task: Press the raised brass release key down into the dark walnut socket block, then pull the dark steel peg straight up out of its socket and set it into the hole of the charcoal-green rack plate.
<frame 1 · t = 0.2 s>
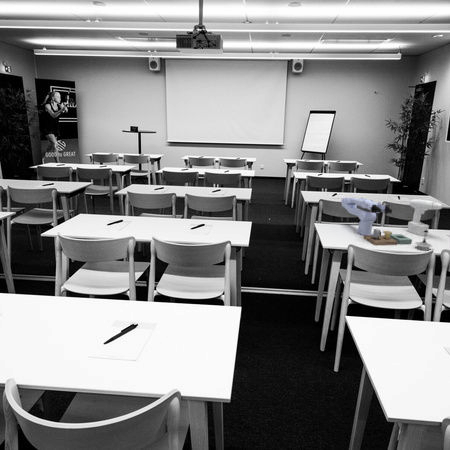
hand: (386, 211, 258), 21 cm above the table, tool horizontal, fingers open, 7 cm apart
release key: (387, 234, 265), point 4 cm above the table, slide at 2.0 cm
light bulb: (422, 248, 256), on the table
steel peg: (375, 241, 265), resting in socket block
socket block: (380, 241, 266), on the table
rack: (399, 241, 269), on the table
power drill: (420, 234, 288), on the table
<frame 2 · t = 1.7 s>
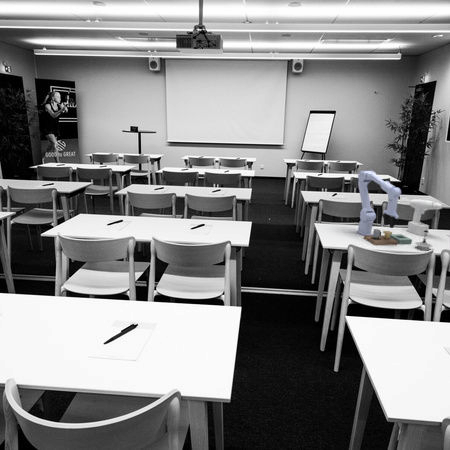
hand: (388, 226, 264), 10 cm above the table, tool pointing down, fingers open, 6 cm apart
nothing on the table moved.
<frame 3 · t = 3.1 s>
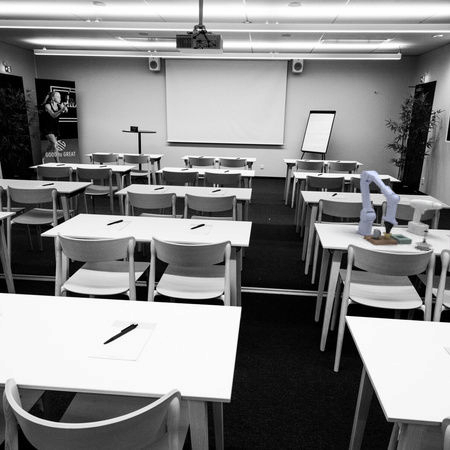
hand: (387, 232, 265), 6 cm above the table, tool pointing down, fingers closed, pressing on release key
release key: (387, 236, 266), point 4 cm above the table, slide at 1.2 cm, touching gripper
everything else where it was.
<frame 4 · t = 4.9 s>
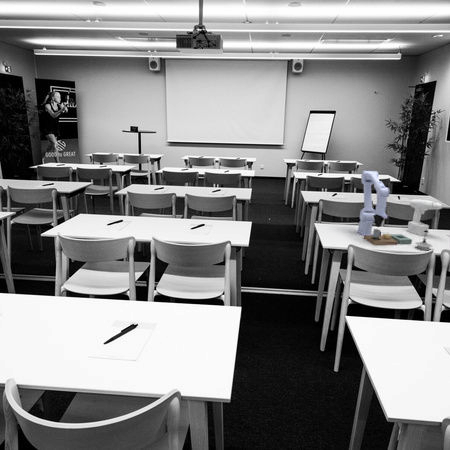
hand: (377, 226, 262), 10 cm above the table, tool pointing down, fingers closed
release key: (386, 237, 266), point 2 cm above the table, slide at -0.1 cm
everything else where it was.
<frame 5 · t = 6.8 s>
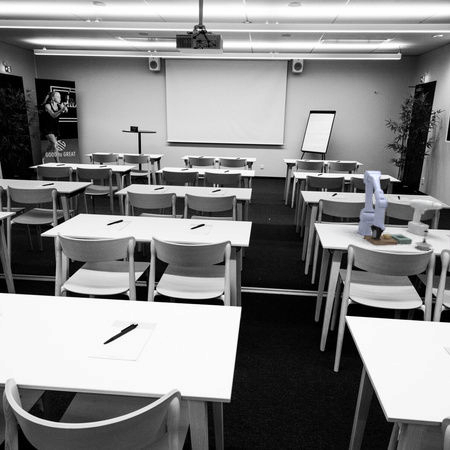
hand: (375, 237, 264), 3 cm above the table, tool pointing down, fingers closed on steel peg, 4 cm apart
steel peg: (375, 241, 265), resting in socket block, touching gripper
everything else where it was.
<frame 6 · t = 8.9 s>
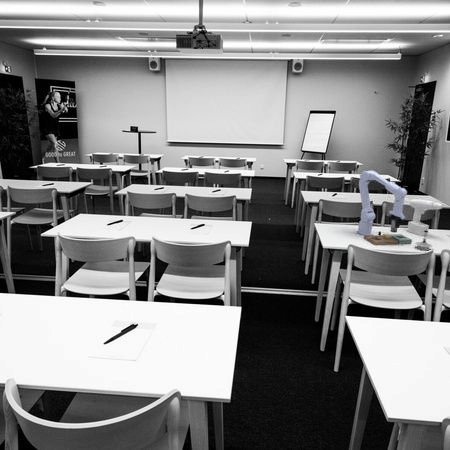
hand: (394, 227, 265), 10 cm above the table, tool pointing down, fingers closed on steel peg, 4 cm apart
steel peg: (393, 231, 265), point 7 cm above the table, touching gripper
everything else where it was.
when the fingers open (4 cm above the table, at t = 11.0 s): steel peg drops 1 cm, resting in rack.
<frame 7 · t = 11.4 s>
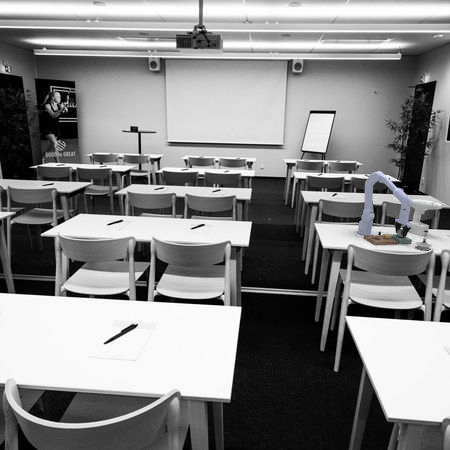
hand: (400, 234, 267), 4 cm above the table, tool pointing down, fingers open, 7 cm apart
steel peg: (399, 241, 268), resting in rack
everything else where it was.
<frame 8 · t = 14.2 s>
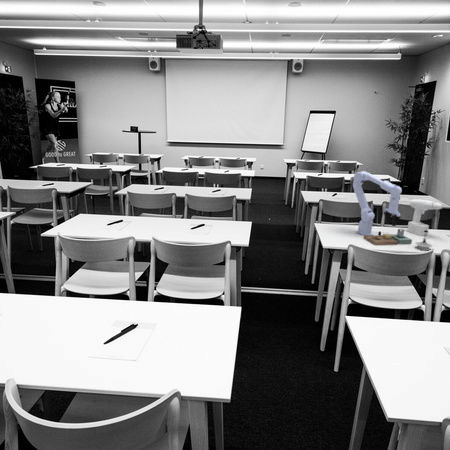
hand: (390, 224, 269), 10 cm above the table, tool pointing down, fingers open, 7 cm apart
nothing on the table moved.
at the end: release key slide at -0.1 cm; steel peg 0.5 cm off-centre on the rack, point 0.0 cm above the rack's base; the gripper is holding nothing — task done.
